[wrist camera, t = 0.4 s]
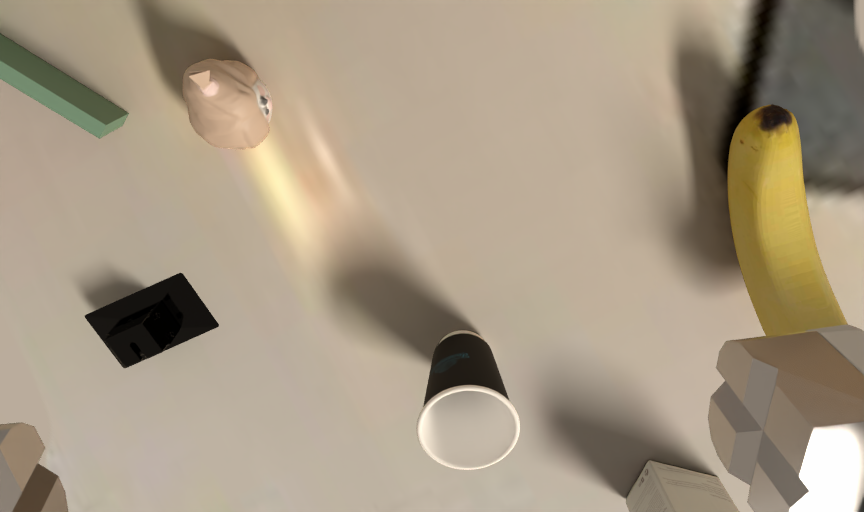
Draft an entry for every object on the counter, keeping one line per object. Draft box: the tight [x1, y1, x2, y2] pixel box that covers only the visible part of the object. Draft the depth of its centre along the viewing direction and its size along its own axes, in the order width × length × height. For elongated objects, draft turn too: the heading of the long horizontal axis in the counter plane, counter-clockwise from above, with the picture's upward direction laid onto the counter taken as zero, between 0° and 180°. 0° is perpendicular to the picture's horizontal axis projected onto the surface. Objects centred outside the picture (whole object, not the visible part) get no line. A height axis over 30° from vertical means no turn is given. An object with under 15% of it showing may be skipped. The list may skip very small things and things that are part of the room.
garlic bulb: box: [183, 59, 272, 149], centre depth 49 cm, size 7×6×8 cm
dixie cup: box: [417, 330, 520, 470], centre depth 57 cm, size 8×8×11 cm
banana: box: [728, 105, 847, 336], centre depth 47 cm, size 23×6×20 cm, turn 19°
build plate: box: [85, 273, 219, 368], centre depth 59 cm, size 13×8×5 cm, turn 115°
